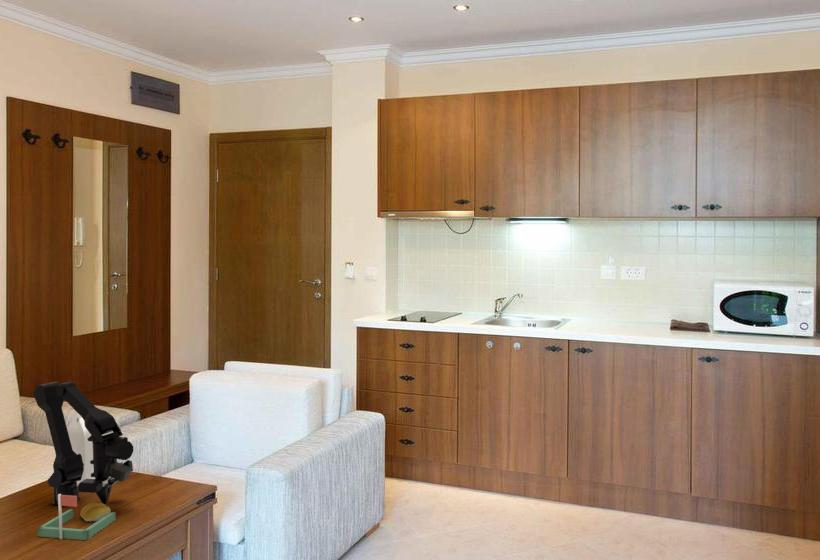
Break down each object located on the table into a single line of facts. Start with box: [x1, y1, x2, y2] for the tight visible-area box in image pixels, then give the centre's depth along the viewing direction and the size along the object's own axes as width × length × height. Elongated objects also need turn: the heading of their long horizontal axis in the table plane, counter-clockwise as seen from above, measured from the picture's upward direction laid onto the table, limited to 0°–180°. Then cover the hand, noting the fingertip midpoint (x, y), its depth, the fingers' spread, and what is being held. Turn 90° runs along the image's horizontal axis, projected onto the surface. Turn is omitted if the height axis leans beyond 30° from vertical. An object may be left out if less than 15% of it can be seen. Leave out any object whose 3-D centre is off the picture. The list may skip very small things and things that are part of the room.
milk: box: [67, 405, 112, 487], centre depth 251 cm, size 12×12×26 cm
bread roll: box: [80, 501, 112, 523], centre depth 219 cm, size 8×9×4 cm
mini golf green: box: [37, 494, 116, 541], centre depth 210 cm, size 15×15×13 cm
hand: (105, 504), depth 224 cm, fingers closed
